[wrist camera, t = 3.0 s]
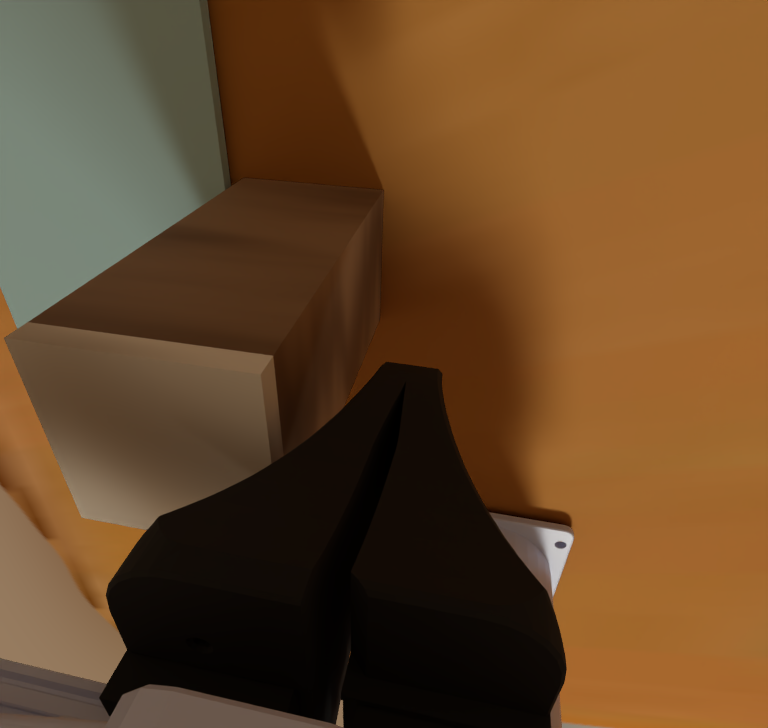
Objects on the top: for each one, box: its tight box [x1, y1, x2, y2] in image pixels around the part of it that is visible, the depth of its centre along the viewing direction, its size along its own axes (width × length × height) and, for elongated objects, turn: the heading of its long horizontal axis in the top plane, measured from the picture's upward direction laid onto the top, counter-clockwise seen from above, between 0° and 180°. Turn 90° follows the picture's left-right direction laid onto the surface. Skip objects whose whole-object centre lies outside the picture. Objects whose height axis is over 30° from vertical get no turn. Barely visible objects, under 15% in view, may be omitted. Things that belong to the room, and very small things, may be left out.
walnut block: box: [4, 178, 384, 530], centre depth 15 cm, size 5×5×11 cm
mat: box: [0, 0, 231, 329], centre depth 20 cm, size 16×11×1 cm
